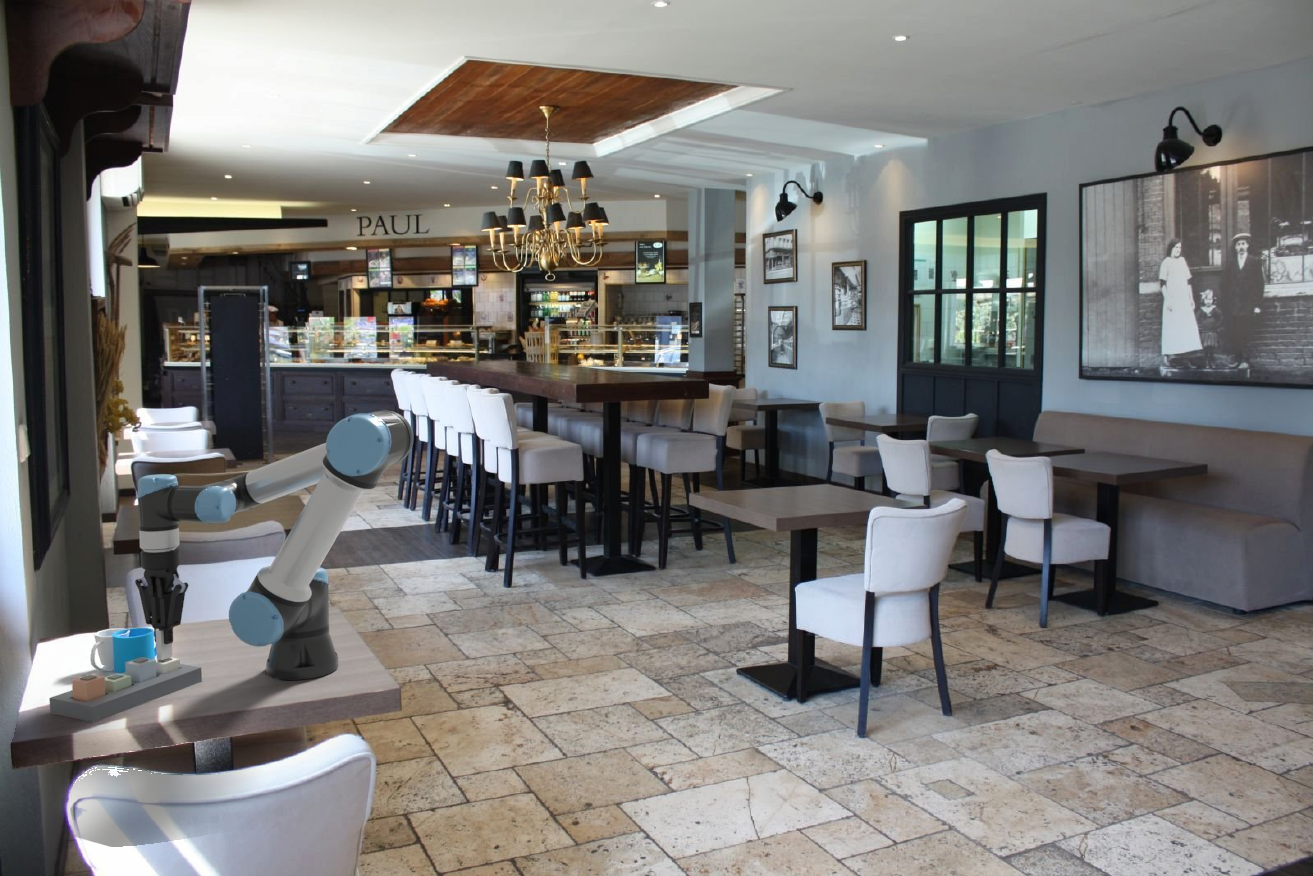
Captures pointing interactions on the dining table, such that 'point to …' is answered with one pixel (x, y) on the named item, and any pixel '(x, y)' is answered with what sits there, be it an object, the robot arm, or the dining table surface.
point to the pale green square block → (117, 682)
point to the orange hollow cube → (88, 687)
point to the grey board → (125, 695)
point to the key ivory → (167, 665)
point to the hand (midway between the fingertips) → (164, 658)
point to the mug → (132, 647)
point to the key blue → (141, 669)
